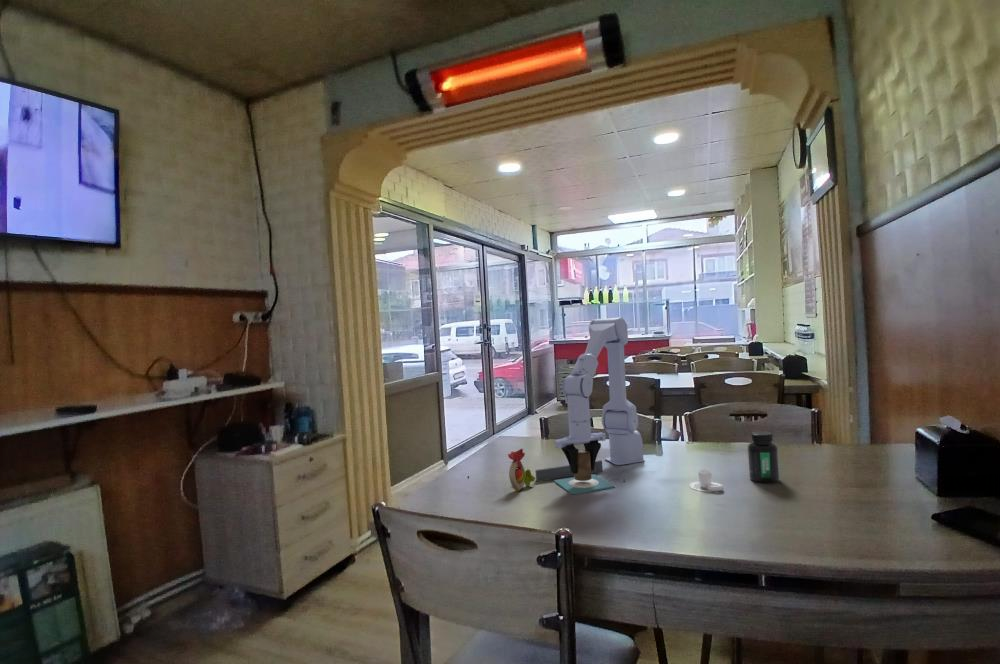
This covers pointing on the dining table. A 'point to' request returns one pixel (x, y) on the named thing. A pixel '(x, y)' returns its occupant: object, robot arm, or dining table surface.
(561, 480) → the mat
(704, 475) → the teacup and saucer
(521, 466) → the bird rattle
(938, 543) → the dining table surface
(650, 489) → the dining table surface
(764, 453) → the supplement bottle
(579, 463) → the walnut cylinder
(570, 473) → the low wall
